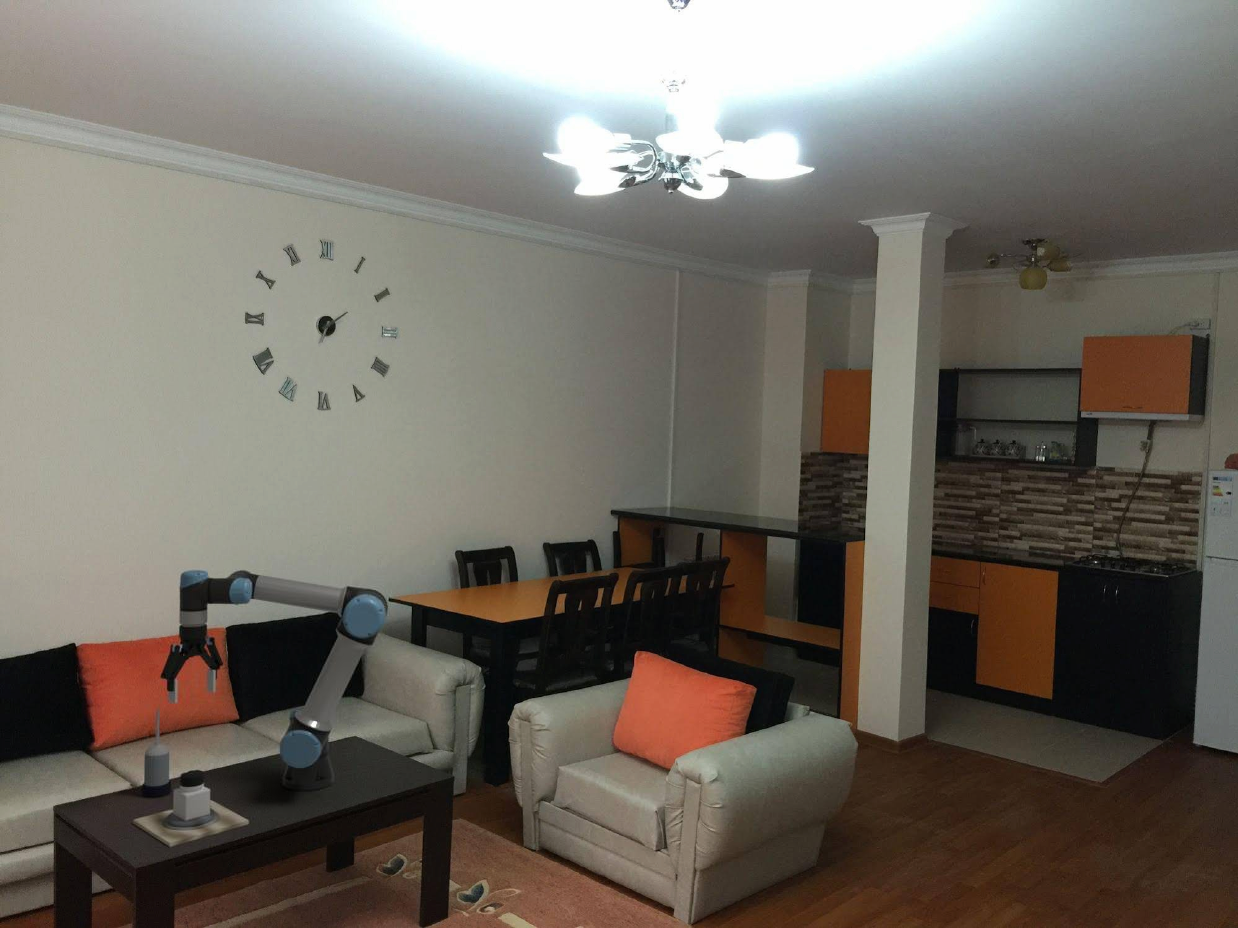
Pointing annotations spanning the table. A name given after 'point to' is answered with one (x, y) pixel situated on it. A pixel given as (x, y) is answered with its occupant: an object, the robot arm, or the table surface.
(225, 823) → the square wooden board
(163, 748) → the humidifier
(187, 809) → the medicine bottle
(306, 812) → the table surface
